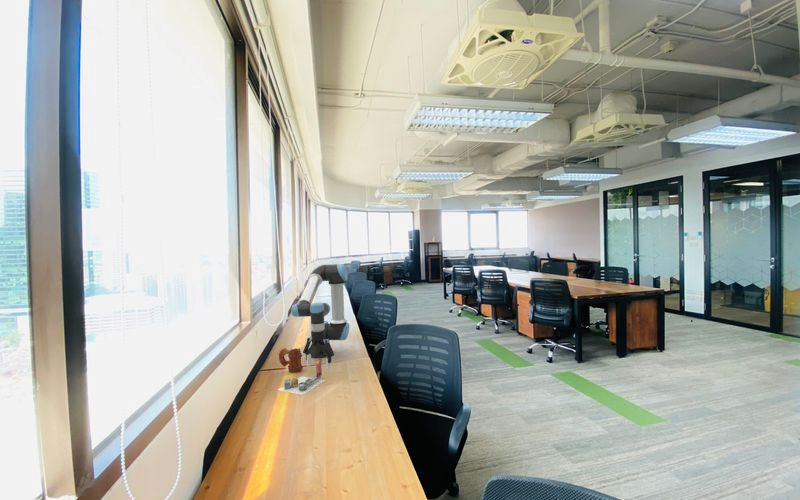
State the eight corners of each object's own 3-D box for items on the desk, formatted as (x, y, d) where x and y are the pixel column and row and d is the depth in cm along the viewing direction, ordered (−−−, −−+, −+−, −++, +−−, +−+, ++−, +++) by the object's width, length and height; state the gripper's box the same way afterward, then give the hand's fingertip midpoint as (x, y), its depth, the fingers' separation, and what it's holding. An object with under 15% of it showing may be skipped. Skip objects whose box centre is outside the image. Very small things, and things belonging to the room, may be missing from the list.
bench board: (301, 378, 191) (301, 375, 191) (325, 382, 184) (325, 379, 184) (277, 392, 173) (277, 388, 173) (302, 397, 167) (302, 393, 167)
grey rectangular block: (285, 385, 178) (284, 379, 178) (290, 385, 179) (290, 378, 179) (284, 389, 173) (284, 383, 173) (290, 388, 174) (290, 382, 174)
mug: (305, 370, 203) (304, 346, 203) (300, 375, 195) (299, 350, 195) (283, 369, 205) (282, 346, 205) (276, 374, 197) (276, 350, 197)
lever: (303, 390, 170) (302, 370, 170) (296, 389, 172) (296, 369, 171) (324, 377, 186) (323, 359, 186) (317, 376, 188) (317, 358, 188)
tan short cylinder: (294, 384, 180) (294, 378, 180) (299, 385, 178) (299, 379, 178) (289, 387, 176) (289, 380, 176) (295, 388, 175) (294, 381, 175)
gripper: (296, 330, 187) (297, 366, 187) (332, 333, 177) (333, 372, 177) (304, 327, 194) (305, 362, 194) (339, 330, 184) (340, 367, 184)
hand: (318, 367), depth 185 cm, fingers open, 13 cm apart
